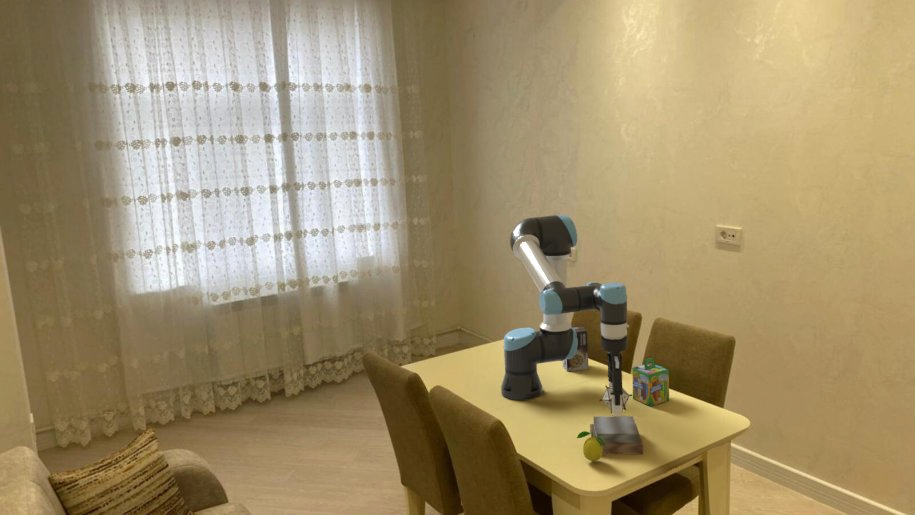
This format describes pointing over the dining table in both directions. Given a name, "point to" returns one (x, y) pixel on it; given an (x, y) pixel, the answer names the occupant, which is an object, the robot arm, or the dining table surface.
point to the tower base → (620, 446)
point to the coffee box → (578, 352)
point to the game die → (608, 398)
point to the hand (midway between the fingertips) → (615, 408)
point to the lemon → (592, 446)
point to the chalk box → (650, 383)
